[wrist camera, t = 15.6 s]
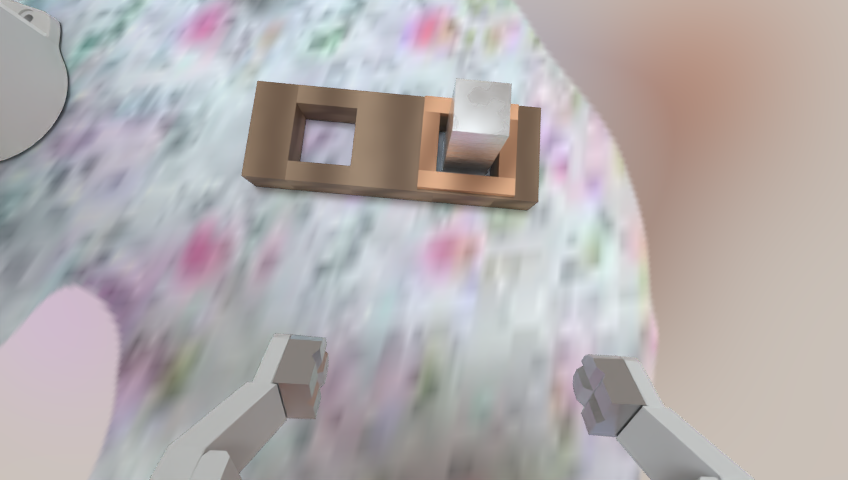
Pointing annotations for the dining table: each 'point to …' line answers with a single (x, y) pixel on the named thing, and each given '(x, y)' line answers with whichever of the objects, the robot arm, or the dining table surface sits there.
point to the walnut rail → (384, 148)
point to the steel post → (476, 126)
